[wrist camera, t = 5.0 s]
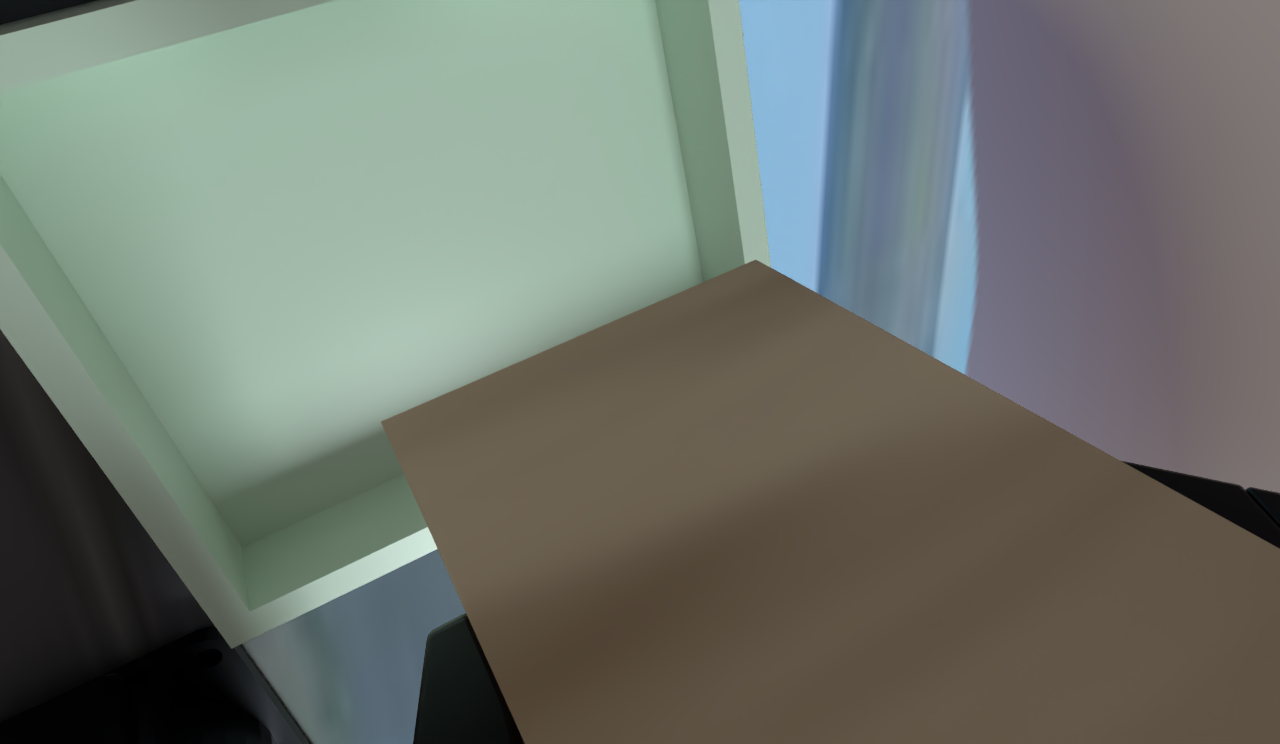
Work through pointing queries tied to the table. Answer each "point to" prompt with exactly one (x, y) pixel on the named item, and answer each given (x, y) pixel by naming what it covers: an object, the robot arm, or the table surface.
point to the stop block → (824, 546)
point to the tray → (341, 242)
